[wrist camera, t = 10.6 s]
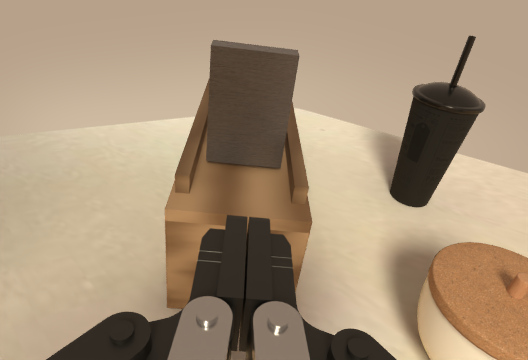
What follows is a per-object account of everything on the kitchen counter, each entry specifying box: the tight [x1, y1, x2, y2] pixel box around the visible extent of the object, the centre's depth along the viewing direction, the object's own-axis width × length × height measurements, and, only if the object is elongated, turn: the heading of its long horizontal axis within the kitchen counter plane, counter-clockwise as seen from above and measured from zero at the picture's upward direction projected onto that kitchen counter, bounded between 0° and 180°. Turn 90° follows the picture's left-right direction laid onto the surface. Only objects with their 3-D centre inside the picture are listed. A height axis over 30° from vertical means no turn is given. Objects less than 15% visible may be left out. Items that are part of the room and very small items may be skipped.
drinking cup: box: [390, 36, 485, 207], centre depth 44 cm, size 8×8×20 cm
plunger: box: [206, 40, 299, 168], centre depth 36 cm, size 6×18×9 cm, turn 0°
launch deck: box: [165, 79, 312, 309], centre depth 38 cm, size 10×24×12 cm, turn 0°
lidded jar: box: [417, 242, 528, 360], centre depth 28 cm, size 11×11×9 cm
